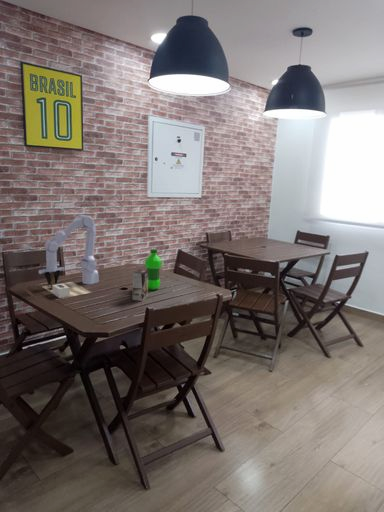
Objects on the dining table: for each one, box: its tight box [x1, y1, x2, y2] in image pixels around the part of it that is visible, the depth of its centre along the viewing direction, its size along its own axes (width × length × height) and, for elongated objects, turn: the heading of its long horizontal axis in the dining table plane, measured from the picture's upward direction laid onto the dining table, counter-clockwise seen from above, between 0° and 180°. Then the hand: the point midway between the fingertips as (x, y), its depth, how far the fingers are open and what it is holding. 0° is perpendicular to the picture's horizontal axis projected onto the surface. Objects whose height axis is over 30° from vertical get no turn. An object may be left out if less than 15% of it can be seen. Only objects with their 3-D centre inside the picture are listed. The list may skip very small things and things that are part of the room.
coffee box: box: [132, 268, 149, 302], centre depth 210 cm, size 9×6×16 cm
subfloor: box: [42, 281, 93, 299], centre depth 216 cm, size 19×26×1 cm
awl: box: [49, 275, 55, 289], centre depth 215 cm, size 3×3×6 cm
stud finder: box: [52, 283, 70, 299], centre depth 205 cm, size 6×9×6 cm, turn 42°
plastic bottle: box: [144, 248, 162, 291], centre depth 228 cm, size 10×10×25 cm
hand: (52, 283), depth 216 cm, fingers closed on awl, 3 cm apart
